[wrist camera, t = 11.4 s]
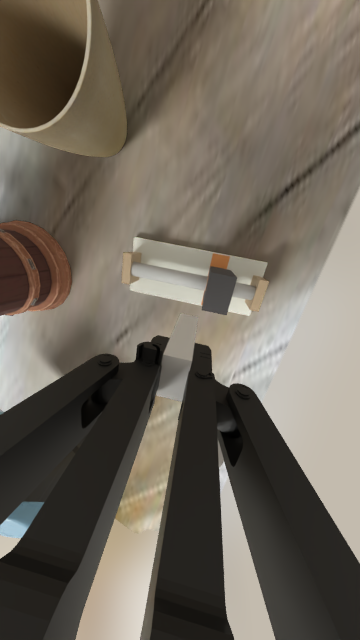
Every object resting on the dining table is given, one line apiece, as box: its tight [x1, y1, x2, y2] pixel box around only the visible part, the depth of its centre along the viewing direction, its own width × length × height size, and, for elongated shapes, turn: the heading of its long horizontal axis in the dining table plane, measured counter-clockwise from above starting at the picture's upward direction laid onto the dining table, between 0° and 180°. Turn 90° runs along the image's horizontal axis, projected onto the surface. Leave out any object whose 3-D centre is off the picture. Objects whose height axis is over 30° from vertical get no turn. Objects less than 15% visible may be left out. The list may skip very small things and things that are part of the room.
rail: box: [122, 237, 269, 316], centre depth 34 cm, size 24×10×6 cm, turn 80°
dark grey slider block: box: [202, 266, 237, 315], centre depth 30 cm, size 4×5×9 cm, turn 170°
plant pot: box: [0, 0, 127, 157], centre depth 23 cm, size 15×15×16 cm
